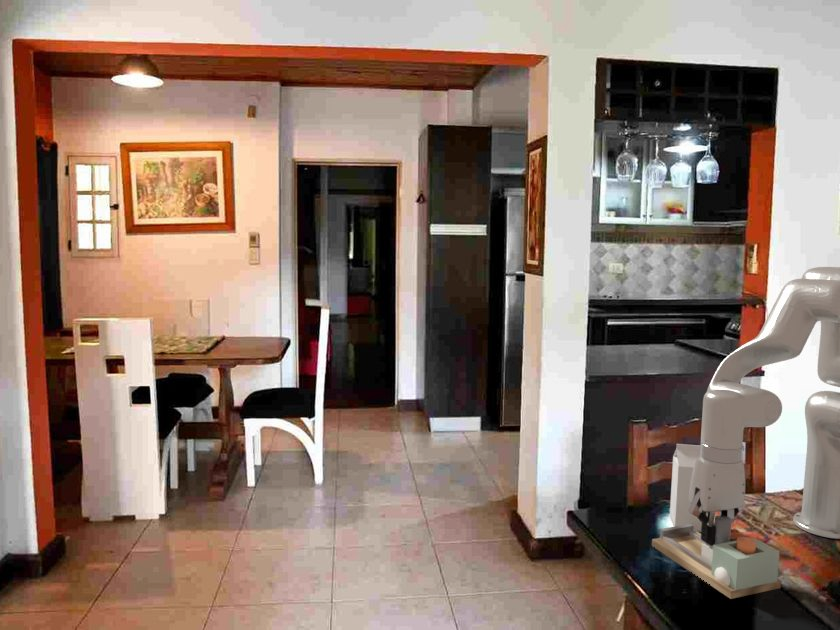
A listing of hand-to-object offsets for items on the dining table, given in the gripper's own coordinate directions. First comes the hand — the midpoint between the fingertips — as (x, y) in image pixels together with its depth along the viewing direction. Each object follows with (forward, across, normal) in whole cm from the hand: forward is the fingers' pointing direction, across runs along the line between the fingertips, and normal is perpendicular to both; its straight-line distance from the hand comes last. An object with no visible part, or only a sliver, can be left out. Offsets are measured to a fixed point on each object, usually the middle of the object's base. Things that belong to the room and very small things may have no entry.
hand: (715, 540), depth 133 cm
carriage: (+4, 0, +2) cm, 4 cm away
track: (+6, 0, 0) cm, 6 cm away
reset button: (0, 0, +8) cm, 8 cm away
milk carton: (+6, -8, -18) cm, 20 cm away
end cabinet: (+6, 0, +8) cm, 9 cm away
